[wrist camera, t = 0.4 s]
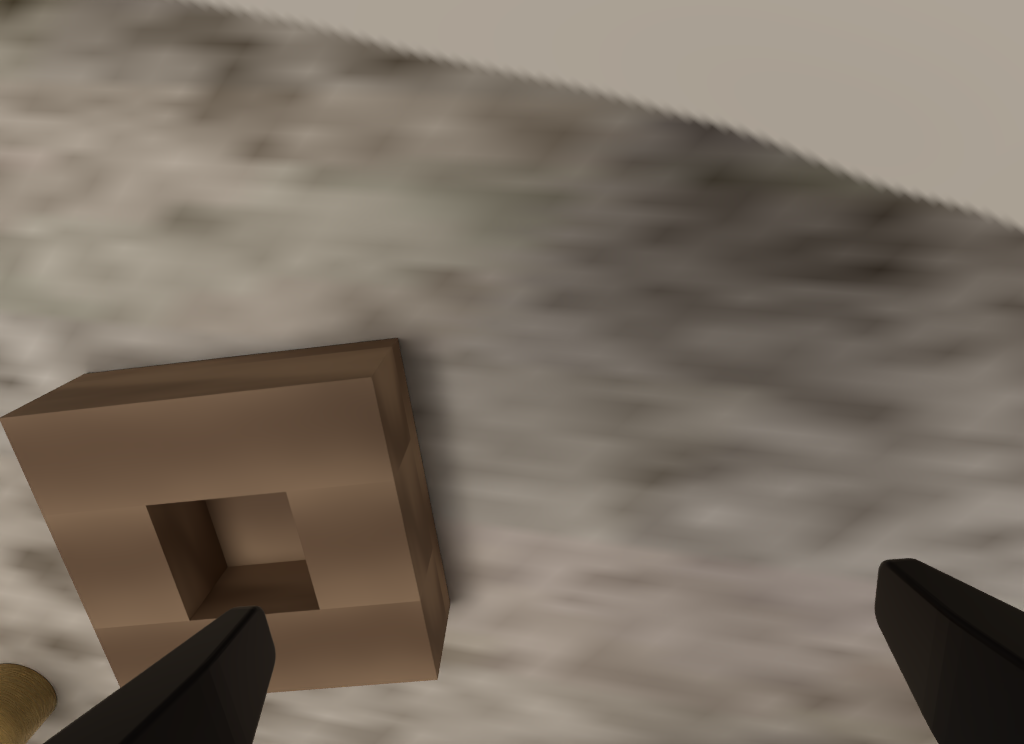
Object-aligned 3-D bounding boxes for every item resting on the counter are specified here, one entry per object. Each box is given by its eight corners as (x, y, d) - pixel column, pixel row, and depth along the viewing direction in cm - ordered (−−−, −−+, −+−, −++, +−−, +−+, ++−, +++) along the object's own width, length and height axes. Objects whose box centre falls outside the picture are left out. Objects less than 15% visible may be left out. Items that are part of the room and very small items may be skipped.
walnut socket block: (450, 603, 26) (437, 679, 23) (182, 626, 27) (127, 703, 24) (397, 338, 22) (371, 376, 19) (84, 373, 23) (-2, 418, 19)
